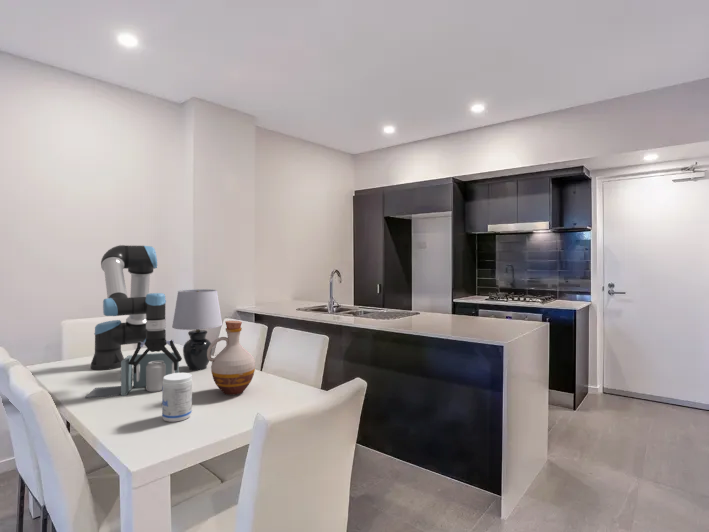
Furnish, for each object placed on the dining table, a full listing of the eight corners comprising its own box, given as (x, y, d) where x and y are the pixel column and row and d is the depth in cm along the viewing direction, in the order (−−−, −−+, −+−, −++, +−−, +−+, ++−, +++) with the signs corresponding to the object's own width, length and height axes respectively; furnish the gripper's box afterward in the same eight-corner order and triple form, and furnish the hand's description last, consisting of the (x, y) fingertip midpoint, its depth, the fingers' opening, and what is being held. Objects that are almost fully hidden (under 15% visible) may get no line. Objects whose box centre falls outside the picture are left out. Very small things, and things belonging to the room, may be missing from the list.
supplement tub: (157, 417, 141) (157, 376, 141) (183, 410, 148) (183, 370, 148) (170, 425, 135) (170, 381, 135) (197, 417, 142) (197, 375, 142)
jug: (209, 402, 156) (209, 325, 156) (203, 389, 172) (204, 319, 172) (259, 395, 165) (260, 322, 165) (250, 383, 181) (250, 317, 181)
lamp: (228, 370, 203) (228, 291, 202) (177, 377, 189) (177, 293, 189) (215, 360, 223) (215, 288, 222) (168, 366, 209) (168, 290, 209)
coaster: (95, 389, 172) (95, 387, 172) (126, 386, 175) (126, 385, 175) (85, 398, 161) (85, 396, 161) (119, 395, 164) (119, 394, 164)
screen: (129, 386, 176) (128, 354, 176) (178, 382, 181) (178, 352, 181) (121, 395, 164) (121, 361, 163) (174, 391, 169) (174, 358, 169)
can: (157, 393, 167) (157, 364, 167) (141, 392, 169) (141, 363, 168) (169, 387, 174) (169, 360, 174) (154, 386, 176) (154, 359, 176)
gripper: (120, 332, 164) (120, 384, 164) (186, 329, 171) (186, 379, 171) (125, 329, 171) (125, 379, 171) (188, 326, 178) (188, 374, 178)
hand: (155, 379), depth 171 cm, fingers open, 13 cm apart
